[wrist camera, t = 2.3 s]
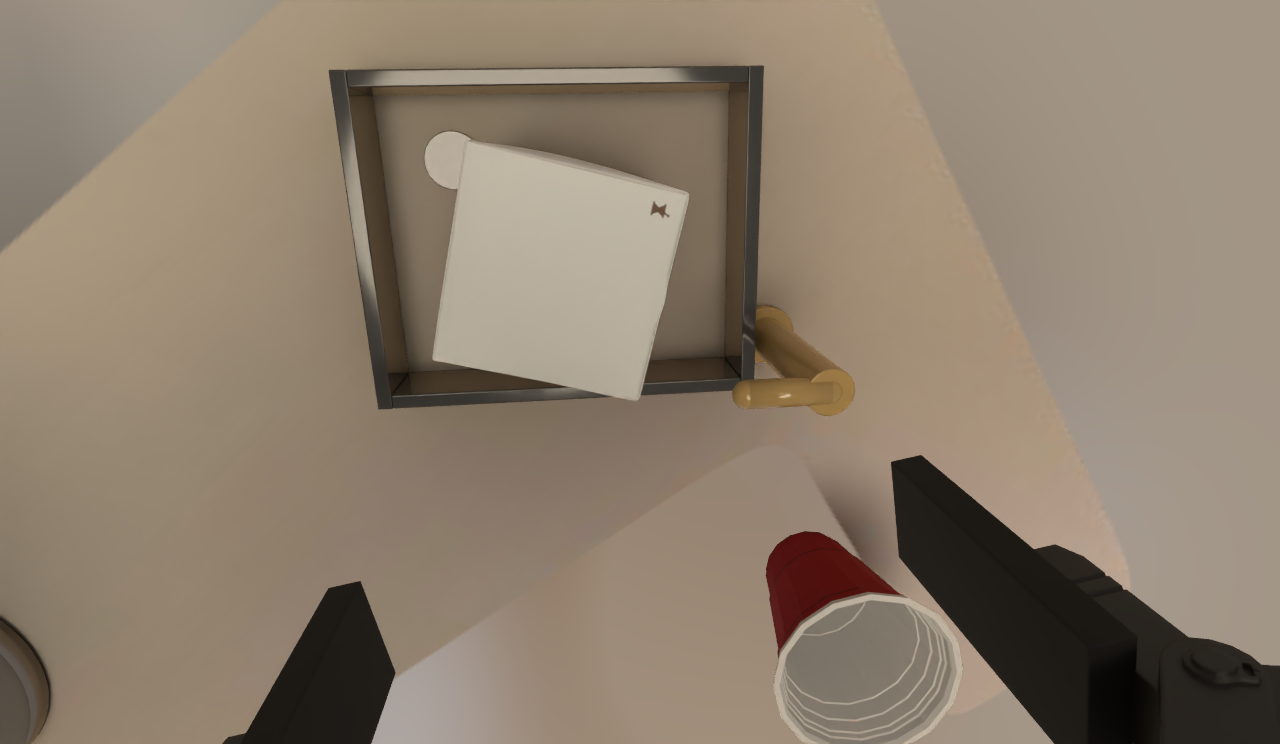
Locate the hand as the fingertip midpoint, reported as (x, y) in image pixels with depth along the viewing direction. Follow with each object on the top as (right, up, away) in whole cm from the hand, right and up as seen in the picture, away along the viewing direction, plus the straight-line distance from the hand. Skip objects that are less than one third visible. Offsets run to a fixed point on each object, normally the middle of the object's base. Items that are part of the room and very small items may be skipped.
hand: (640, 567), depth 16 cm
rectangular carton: (-5, +13, +24) cm, 28 cm away
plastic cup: (+12, -9, +33) cm, 36 cm away
